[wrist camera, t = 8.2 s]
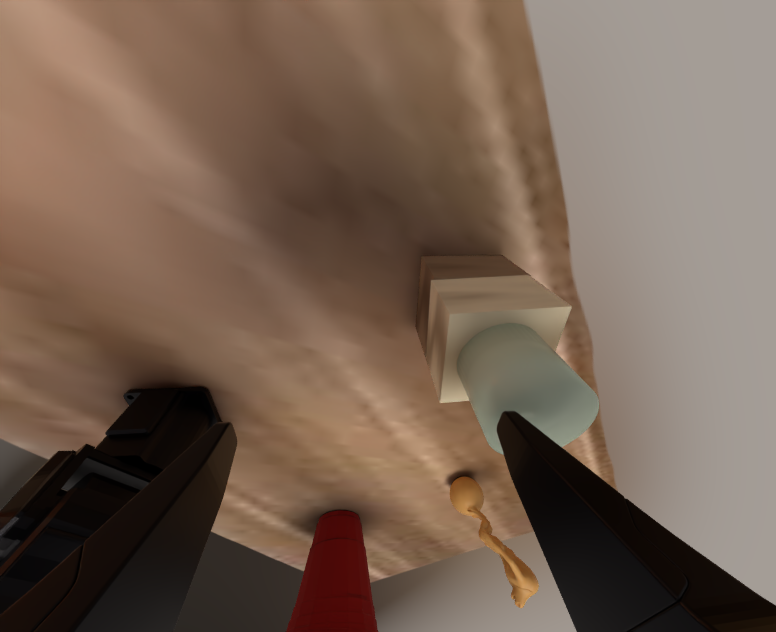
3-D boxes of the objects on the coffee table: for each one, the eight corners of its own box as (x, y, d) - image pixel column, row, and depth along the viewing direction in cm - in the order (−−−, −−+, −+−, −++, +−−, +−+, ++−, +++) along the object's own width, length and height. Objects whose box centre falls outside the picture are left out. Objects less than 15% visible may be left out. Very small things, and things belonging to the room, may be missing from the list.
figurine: (434, 469, 34) (467, 608, 23) (481, 451, 33) (536, 589, 22) (457, 497, 38) (494, 626, 27) (499, 482, 37) (554, 611, 26)
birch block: (508, 352, 20) (539, 394, 16) (426, 358, 19) (439, 402, 16) (528, 274, 17) (571, 306, 13) (431, 280, 16) (449, 314, 13)
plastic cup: (281, 525, 37) (251, 666, 27) (334, 491, 34) (324, 637, 24) (340, 544, 42) (334, 671, 32) (392, 516, 39) (404, 647, 29)
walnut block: (485, 323, 23) (507, 353, 20) (415, 326, 23) (425, 356, 19) (501, 254, 20) (530, 275, 17) (421, 255, 20) (434, 277, 16)
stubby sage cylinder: (527, 389, 16) (573, 453, 13) (450, 392, 16) (476, 460, 12) (554, 322, 14) (619, 379, 10) (464, 324, 13) (501, 384, 10)
